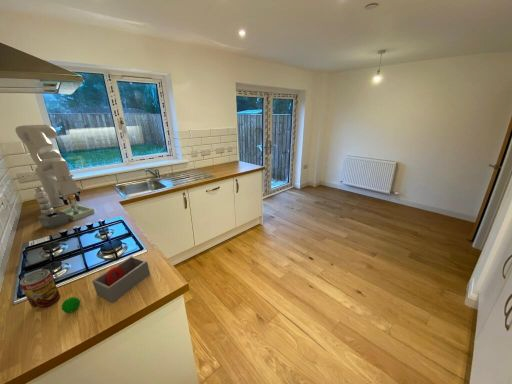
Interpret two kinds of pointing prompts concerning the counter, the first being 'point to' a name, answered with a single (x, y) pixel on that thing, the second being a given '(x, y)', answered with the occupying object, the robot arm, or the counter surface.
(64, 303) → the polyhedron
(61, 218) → the hitch block
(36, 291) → the canned food
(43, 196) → the plastic bottle
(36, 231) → the counter surface
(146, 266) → the grey open box
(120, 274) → the red rounded piece
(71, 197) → the hitch pin
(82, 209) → the tray
